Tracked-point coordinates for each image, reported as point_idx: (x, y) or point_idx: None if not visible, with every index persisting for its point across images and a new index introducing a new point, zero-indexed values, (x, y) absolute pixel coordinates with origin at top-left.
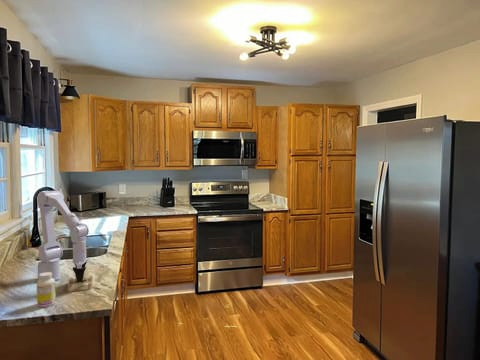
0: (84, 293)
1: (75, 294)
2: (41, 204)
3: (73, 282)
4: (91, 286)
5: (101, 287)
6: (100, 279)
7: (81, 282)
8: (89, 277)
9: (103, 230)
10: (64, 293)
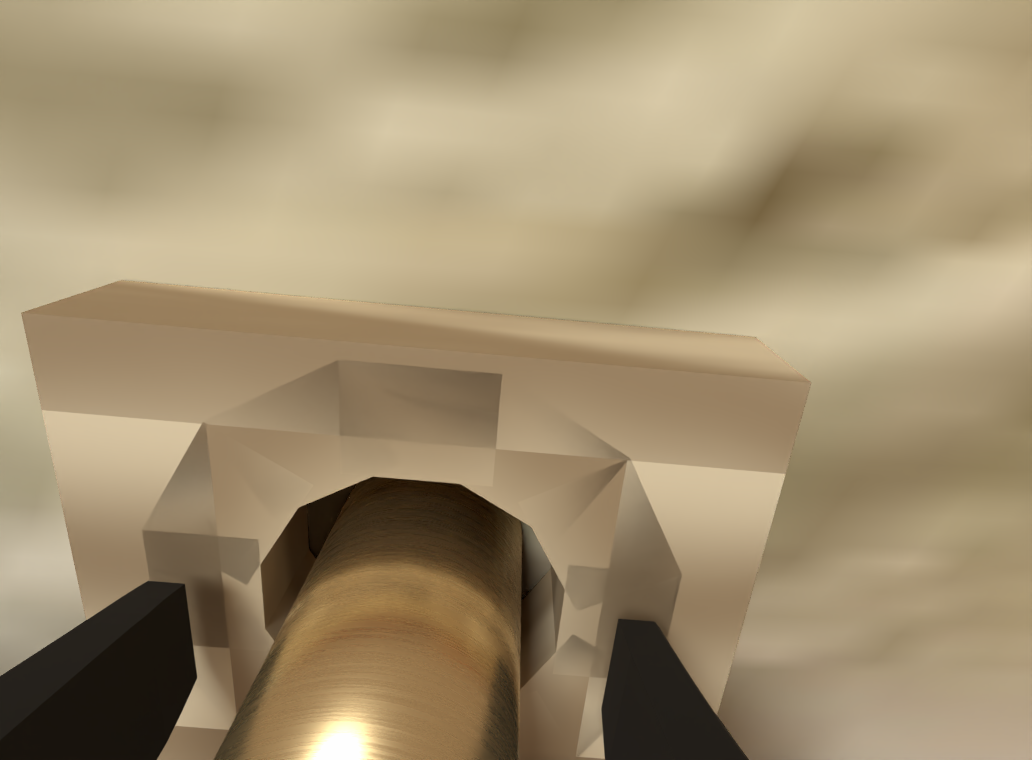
0: (931, 488)
1: (871, 624)
2: None
3: None
4: (779, 363)
5: (774, 93)
6: (69, 51)
7: (515, 588)
8: (179, 396)
9: None
10: None
